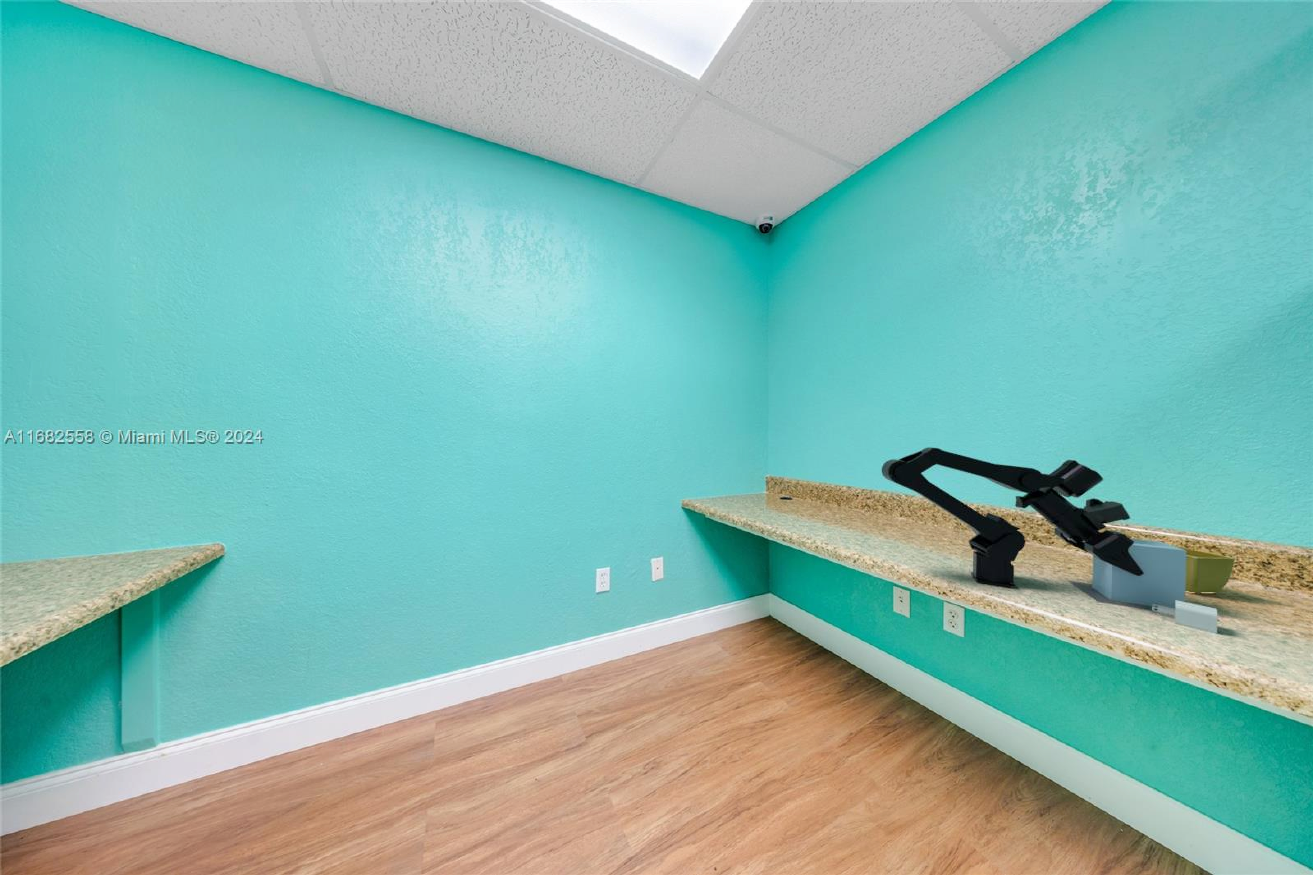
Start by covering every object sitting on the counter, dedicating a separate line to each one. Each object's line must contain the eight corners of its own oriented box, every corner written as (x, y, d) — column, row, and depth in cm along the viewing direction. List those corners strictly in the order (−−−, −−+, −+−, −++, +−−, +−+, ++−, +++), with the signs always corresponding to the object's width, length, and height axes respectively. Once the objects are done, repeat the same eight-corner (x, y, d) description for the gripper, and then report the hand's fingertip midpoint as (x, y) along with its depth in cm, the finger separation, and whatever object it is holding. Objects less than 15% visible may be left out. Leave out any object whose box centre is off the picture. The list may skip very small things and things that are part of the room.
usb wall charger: (1216, 636, 66) (1217, 613, 66) (1151, 620, 72) (1152, 599, 72) (1215, 629, 68) (1216, 607, 68) (1152, 614, 74) (1153, 594, 74)
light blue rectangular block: (1111, 599, 80) (1112, 542, 79) (1092, 587, 86) (1093, 534, 86) (1184, 611, 75) (1186, 550, 75) (1158, 597, 81) (1160, 541, 81)
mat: (1097, 603, 79) (1097, 601, 79) (1067, 582, 90) (1067, 580, 90) (1220, 623, 71) (1220, 620, 71) (1170, 597, 82) (1170, 595, 82)
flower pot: (1178, 583, 91) (1179, 545, 91) (1235, 599, 82) (1236, 557, 82) (1143, 583, 90) (1144, 545, 90) (1196, 599, 82) (1198, 557, 82)
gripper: (1120, 493, 75) (1205, 558, 70) (1073, 483, 92) (1140, 535, 86) (1063, 528, 79) (1141, 592, 74) (1029, 512, 95) (1090, 564, 90)
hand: (1128, 568), depth 81 cm, fingers open, 8 cm apart
